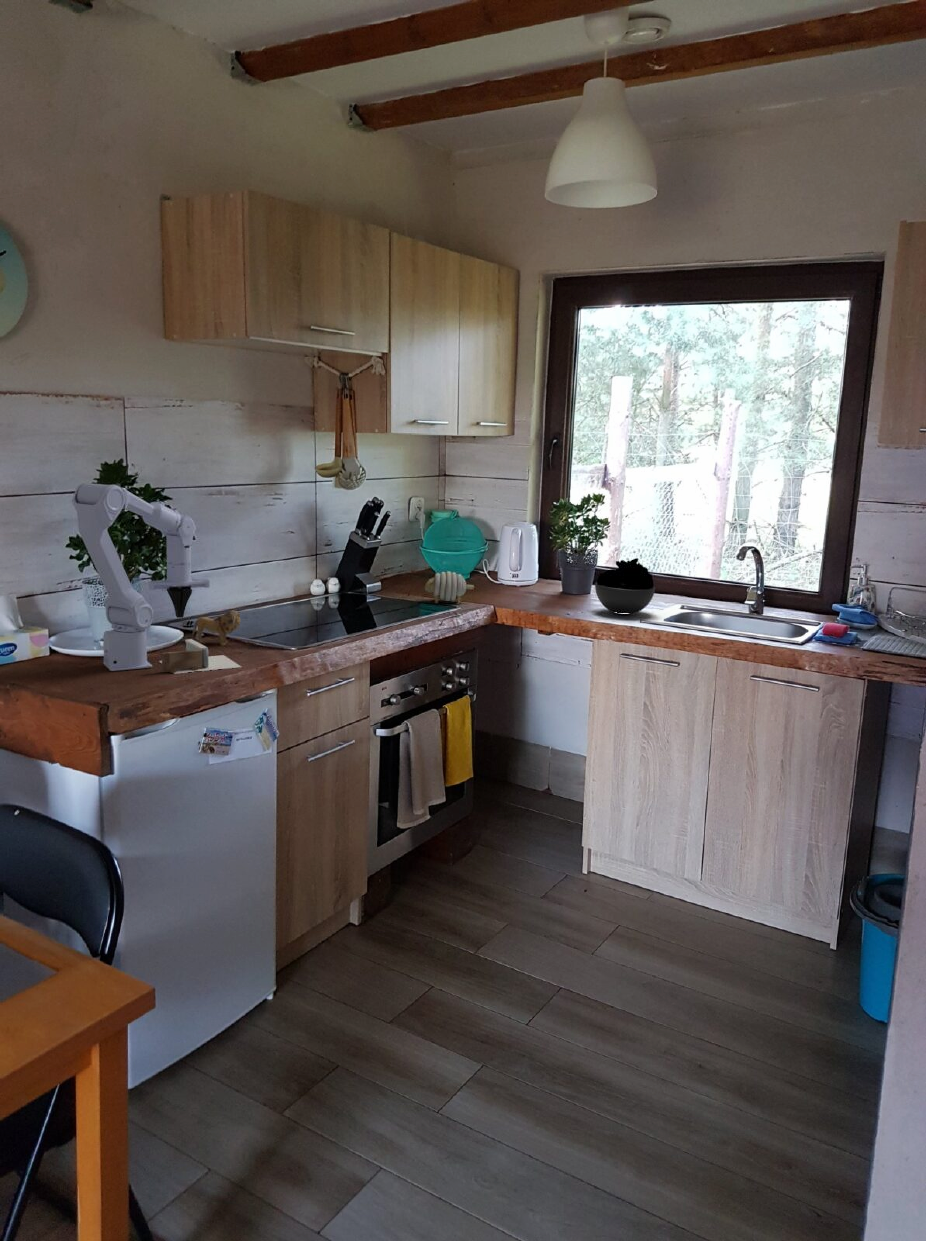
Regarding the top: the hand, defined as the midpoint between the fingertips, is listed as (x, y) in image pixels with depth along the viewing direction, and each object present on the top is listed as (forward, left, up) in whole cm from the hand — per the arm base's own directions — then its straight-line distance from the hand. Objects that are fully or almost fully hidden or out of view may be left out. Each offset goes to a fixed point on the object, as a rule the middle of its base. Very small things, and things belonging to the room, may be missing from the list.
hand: (179, 616), depth 236 cm
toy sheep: (+104, +39, -10) cm, 112 cm away
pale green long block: (+1, -12, -9) cm, 15 cm away
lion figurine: (+12, +9, -10) cm, 18 cm away
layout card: (+1, -13, -9) cm, 16 cm away
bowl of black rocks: (+150, +1, -10) cm, 150 cm away
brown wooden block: (-5, -17, -9) cm, 20 cm away
